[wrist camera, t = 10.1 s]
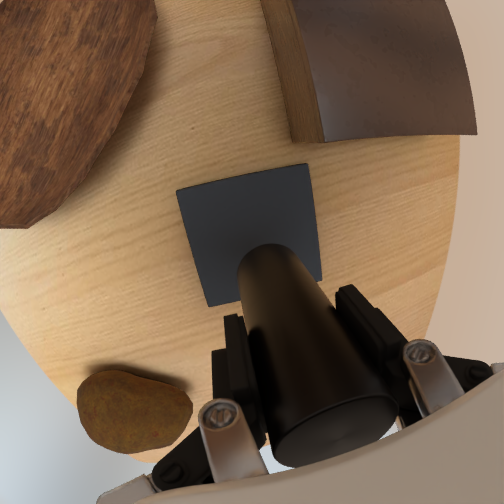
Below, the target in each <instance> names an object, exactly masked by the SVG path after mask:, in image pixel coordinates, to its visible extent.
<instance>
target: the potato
mask: <svg viewBox="0 0 504 504" xmlns="http://www.w3.org/2000/svg"><path fill="white" fill-rule="evenodd" d="M77 407H78V412H79V417H80V421H81V424H82V426H83V427H84V429H85V431H86V432H87V434H88V436H89V437H90V438H91V439H92V440H93V441H94V442H95V443H97V444H98V445H100V446H103V447H104V448H106V449H109V450H111V451H115V452H118V453H123V454H133V453H139V452H143V451H147V450H152V449H159V448H163V447H166V446H170V445H172V444H173V443H174V442H175V441H176V440H177V439H178V438H179V437H180V435H181V434H182V433H183V432H184V430H185V428H186V426H187V424H188V422H189V420H190V418H191V416H192V413H193V403H192V401H191V400H190V398H189V397H188V395H187V394H186V393H185V392H184V391H182V390H181V389H179V388H176V387H174V386H172V385H169V384H166V383H162V382H158V381H154V380H150V379H146V378H141V377H137V376H135V375H133V374H130V373H128V372H124V371H120V370H108V371H103V372H100V373H96V374H93V375H91V376H90V377H88V378H87V379H86V380H84V381H83V382H82V383H81V385H80V386H79V388H78V390H77Z"/></svg>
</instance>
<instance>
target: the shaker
mask: <svg viewBox="0 0 504 504" xmlns="http://www.w3.org/2000/svg"><path fill="white" fill-rule="evenodd" d="M237 282H238V287H239V293H240V298H241V303H242V309H243V314H244V319H245V324H246V329H247V334H248V338H249V343H250V348H251V353H252V358H253V363H254V368H255V372H256V377H257V382H258V387H259V392H260V396H261V401H262V406H263V412H264V417H265V422H266V427H267V431H268V436H269V440H270V445H271V449H272V454H273V456H274V458H275V459H276V460H277V461H278V462H279V463H280V464H282V465H284V466H287V467H292V468H298V467H302V466H306V465H309V464H313V463H316V462H320V461H323V460H326V459H329V458H332V457H335V456H338V455H341V454H344V453H347V452H350V451H353V450H355V449H358V448H361V447H363V446H366V445H368V444H371V443H373V442H375V441H377V440H379V439H380V438H381V437H382V436H383V435H384V434H385V433H386V432H387V431H388V430H389V429H390V428H391V426H392V425H393V424H394V422H395V420H396V419H397V416H398V413H399V403H398V401H397V399H396V398H395V396H394V394H393V393H392V391H391V390H390V388H389V387H388V385H387V384H386V382H385V381H384V379H383V378H382V376H381V375H380V373H379V372H378V370H377V369H376V367H375V366H374V364H373V363H372V361H371V360H370V358H369V357H368V355H367V354H366V352H365V351H364V349H363V348H362V347H361V345H360V344H359V342H358V341H357V339H356V338H355V336H354V335H353V333H352V332H351V331H350V329H349V328H348V326H347V325H346V323H345V322H344V320H343V319H342V318H341V316H340V315H339V313H338V312H337V310H336V309H335V308H334V306H333V305H332V303H331V302H330V301H329V299H328V298H327V296H326V295H325V294H324V292H323V291H322V289H321V288H320V287H319V285H318V284H317V282H316V281H315V280H314V278H313V277H312V276H311V274H310V273H309V271H308V270H307V269H306V267H305V266H304V265H303V263H302V262H301V261H300V259H299V258H298V256H297V255H296V254H295V253H294V252H293V251H292V250H291V249H290V248H288V247H286V246H284V245H281V244H274V243H270V244H263V245H260V246H258V247H255V248H254V249H252V250H251V251H249V252H248V253H247V254H246V255H245V256H244V257H243V259H242V260H241V262H240V264H239V266H238V270H237Z"/></svg>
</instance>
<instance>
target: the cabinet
mask: <svg viewBox="0 0 504 504" xmlns="http://www.w3.org/2000/svg"><path fill="white" fill-rule="evenodd" d="M260 1H261V5H262V8H263V12H264V16H265V19H266V23H267V27H268V31H269V35H270V39H271V43H272V47H273V51H274V55H275V60H276V64H277V68H278V73H279V77H280V82H281V87H282V91H283V96H284V101H285V106H286V111H287V116H288V121H289V126H290V132H291V137H292V142H293V143H327V142H335V141H344V140H354V139H365V138H377V137H391V136H411V135H477V125H476V118H475V110H474V104H473V97H472V91H471V86H470V81H469V76H468V72H467V68H466V64H465V60H464V56H463V52H462V48H461V45H460V42H459V38H458V35H457V32H456V29H455V26H454V23H453V20H452V18H451V15H450V12H449V10H448V7H447V5H446V2H445V0H260Z"/></svg>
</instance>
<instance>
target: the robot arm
mask: <svg viewBox="0 0 504 504" xmlns="http://www.w3.org/2000/svg"><path fill="white" fill-rule="evenodd" d="M335 301H336V310H337V312H338V313H339V315H340V316H341V318H342V319H343V320H344V322H345V323H346V325H347V326H348V328H349V329H350V331H351V332H352V333H353V335H354V336H355V338H356V339H357V341H358V342H359V344H360V345H361V347H362V348H363V349H364V351H365V352H366V354H367V355H368V357H369V358H370V360H371V361H372V363H373V364H374V366H375V367H376V369H377V370H378V372H379V373H380V375H381V376H382V378H383V379H384V381H385V382H386V384H387V385H388V387H389V388H390V390H391V391H392V393H393V394H394V396H395V398H396V399H397V401H398V403H399V413H398V416H397V419H396V420H395V422H396V425H397V428H398V432H396V433H394V434H391V435H389V436H387V437H385V438H382V439H380V440H378V441H375V442H373V443H371V444H368V445H366V446H363V447H361V448H358V449H355V450H353V451H350V452H347V453H344V454H341V455H338V456H335V457H332V458H329V459H326V460H323V461H320V462H316V463H313V464H309V465H306V466H302V467H298V468H294V469H290V470H286V471H283V472H277V473H273V474H269V472H268V470H267V468H266V466H265V463H264V461H263V459H262V456H261V454H260V452H259V450H260V449H261V448H262V446H263V445H264V444H265V443H266V442H265V441H266V440H267V439H266V435H265V433H268V431H267V427H266V422H265V417H264V412H263V406H262V401H261V396H260V392H259V387H258V382H257V377H256V372H255V368H254V363H253V358H252V353H251V348H250V343H249V338H248V334H247V330H246V326H245V322H244V318H243V316H239V317H238V315H237V313H236V314H232V315H227V316H224V328H225V340H226V348H224V349H219V350H214V351H212V385H213V400H211V401H209V402H208V403H206V404H205V405H204V406H203V407H202V408H201V409H200V411H199V414H198V422H199V426H198V427H197V428H196V429H195V430H194V431H193V432H192V433H191V434H190V435H188V436H187V437H186V438H185V439H184V440H183V441H182V442H181V443H180V444H178V445H177V446H176V447H175V448H174V449H173V450H172V451H170V452H169V453H168V454H167V455H166V456H165V457H163V458H162V459H161V460H160V461H159V462H158V463H157V464H156V465H155V466H154V468H153V471H152V473H151V474H149V475H147V476H146V475H144V474H143V475H141V476H139V477H137V478H135V479H133V480H131V481H129V482H127V483H125V484H123V485H121V486H118V487H116V488H114V489H112V490H110V491H107V492H105V493H103V494H102V495H100V496H99V498H98V499H97V502H96V504H504V363H494V364H491V366H489V365H488V364H486V363H485V362H482V361H478V360H470V359H464V358H457V357H450V356H444V355H442V354H441V352H440V351H439V349H438V347H437V346H436V345H435V344H434V343H432V342H431V341H428V340H425V339H416V340H412V341H410V342H408V341H407V339H406V338H405V337H404V336H403V335H402V334H401V333H400V331H399V330H398V329H397V328H396V327H395V326H394V325H393V324H392V322H391V321H390V320H389V319H388V318H387V317H386V316H385V315H384V314H383V313H382V311H381V310H380V309H378V308H374V307H373V306H372V305H371V304H370V303H369V302H368V300H367V299H366V298H365V297H364V296H363V295H362V294H361V293H360V292H359V291H358V290H357V288H356V287H355V286H354V285H353V284H350V285H346V286H343V287H340V288H339V291H338V292H336V293H335Z"/></svg>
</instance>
